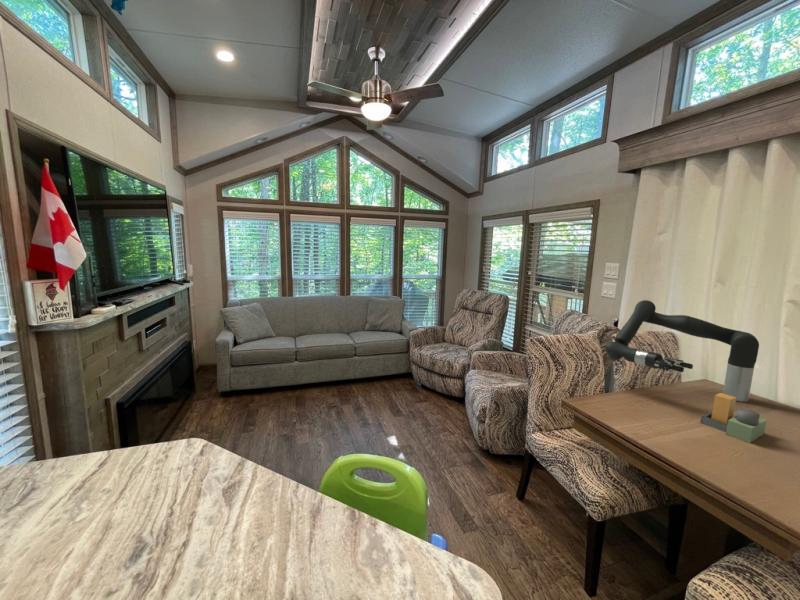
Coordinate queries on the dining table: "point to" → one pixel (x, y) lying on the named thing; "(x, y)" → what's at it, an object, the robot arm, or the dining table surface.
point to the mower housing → (746, 425)
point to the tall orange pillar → (723, 407)
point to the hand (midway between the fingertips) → (687, 368)
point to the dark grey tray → (713, 422)
